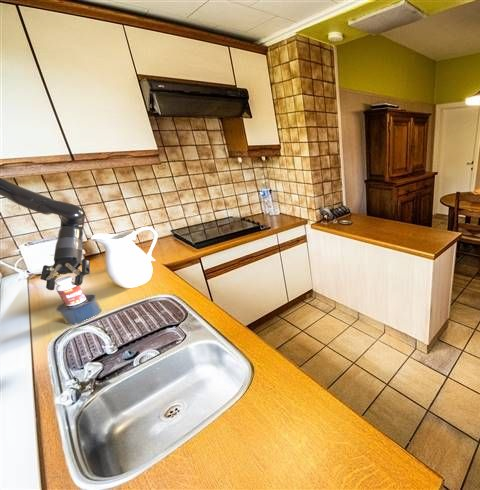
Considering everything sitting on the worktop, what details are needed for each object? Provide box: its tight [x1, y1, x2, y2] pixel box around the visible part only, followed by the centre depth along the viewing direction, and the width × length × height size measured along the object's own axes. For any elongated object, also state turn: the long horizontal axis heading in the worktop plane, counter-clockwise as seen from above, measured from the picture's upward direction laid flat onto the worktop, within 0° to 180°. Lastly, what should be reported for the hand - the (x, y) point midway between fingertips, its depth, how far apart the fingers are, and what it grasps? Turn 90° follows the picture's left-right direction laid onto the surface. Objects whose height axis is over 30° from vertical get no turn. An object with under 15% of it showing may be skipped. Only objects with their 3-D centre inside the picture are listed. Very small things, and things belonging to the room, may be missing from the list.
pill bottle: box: [55, 275, 86, 306], centre depth 107 cm, size 6×6×11 cm
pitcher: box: [89, 226, 159, 289], centre depth 133 cm, size 24×17×28 cm
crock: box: [55, 293, 103, 325], centre depth 111 cm, size 12×12×7 cm
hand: (64, 287), depth 105 cm, fingers open, 8 cm apart
